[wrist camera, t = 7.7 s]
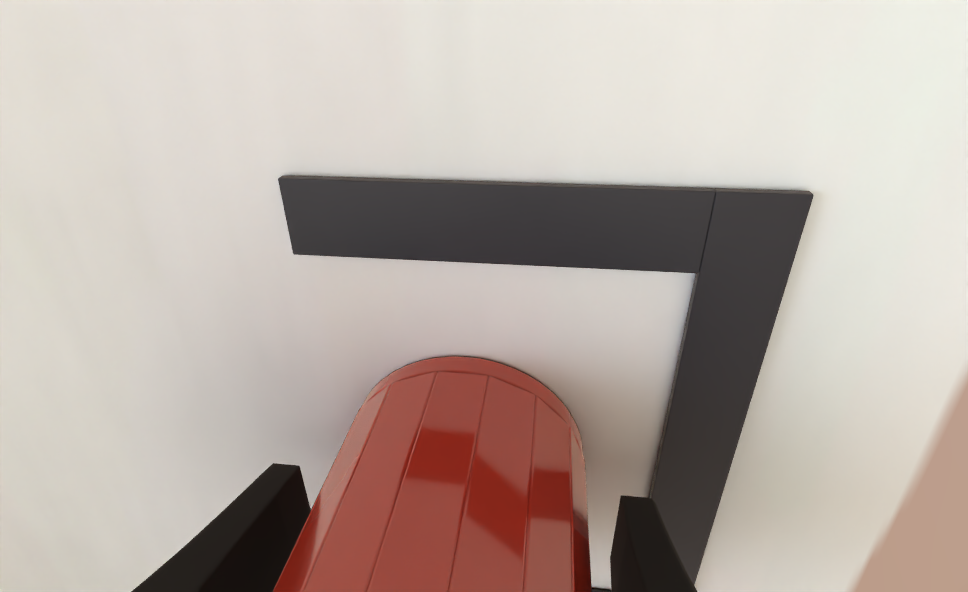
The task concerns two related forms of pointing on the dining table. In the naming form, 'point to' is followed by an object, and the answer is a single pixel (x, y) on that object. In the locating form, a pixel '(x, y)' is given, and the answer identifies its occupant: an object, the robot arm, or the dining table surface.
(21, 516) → the dining table surface
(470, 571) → the tumbler
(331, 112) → the dining table surface
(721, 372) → the tape bay
